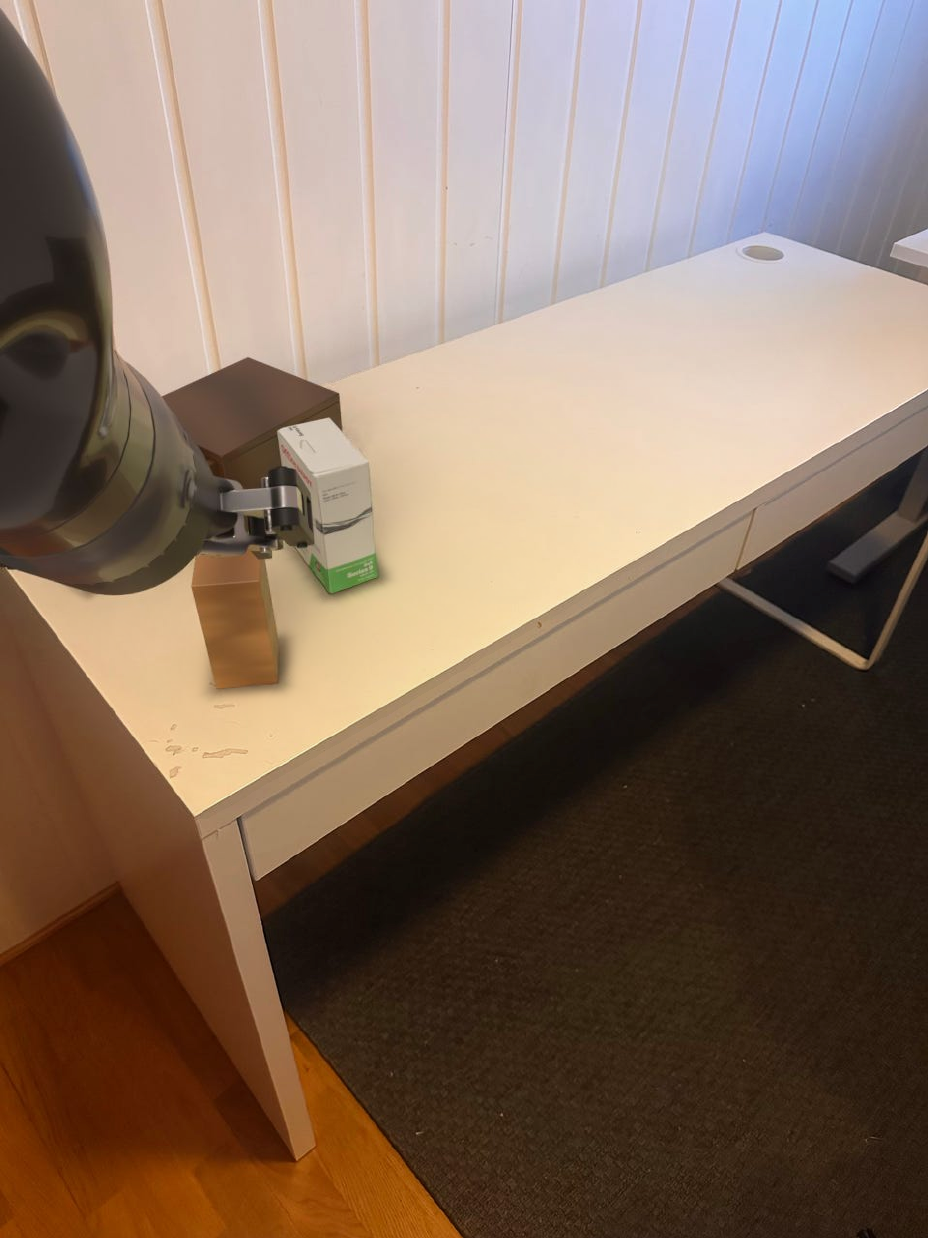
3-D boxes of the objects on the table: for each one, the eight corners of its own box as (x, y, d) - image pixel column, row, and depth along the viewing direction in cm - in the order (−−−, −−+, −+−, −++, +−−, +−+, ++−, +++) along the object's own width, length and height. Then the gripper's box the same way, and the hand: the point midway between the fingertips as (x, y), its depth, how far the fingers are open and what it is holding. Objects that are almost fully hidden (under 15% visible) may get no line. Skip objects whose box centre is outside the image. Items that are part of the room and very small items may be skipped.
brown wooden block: (216, 689, 67) (190, 586, 61) (220, 647, 71) (196, 545, 64) (278, 683, 68) (259, 580, 61) (278, 642, 71) (261, 541, 64)
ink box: (381, 578, 77) (373, 460, 70) (327, 596, 75) (314, 476, 68) (340, 527, 83) (329, 412, 75) (290, 543, 81) (273, 426, 73)
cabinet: (237, 538, 81) (221, 456, 76) (148, 491, 87) (127, 411, 81) (346, 471, 90) (339, 392, 85) (259, 432, 96) (247, 356, 90)
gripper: (284, 355, 31) (313, 465, 47) (-148, 377, 30) (33, 483, 46) (300, 567, 31) (324, 606, 47) (-137, 600, 29) (42, 628, 45)
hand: (180, 545), depth 46 cm, fingers open, 8 cm apart
